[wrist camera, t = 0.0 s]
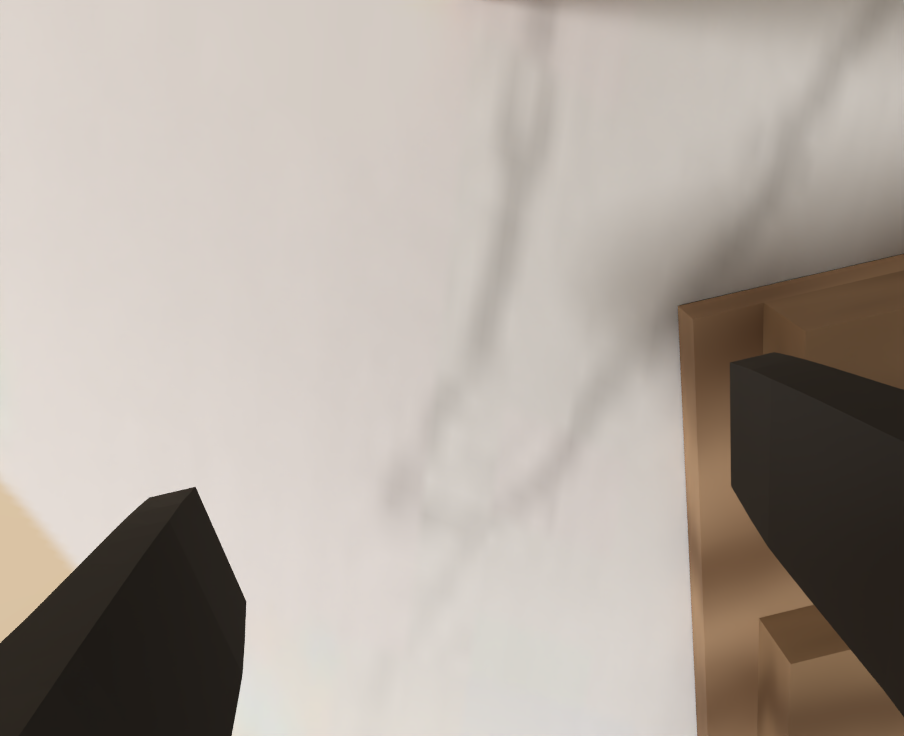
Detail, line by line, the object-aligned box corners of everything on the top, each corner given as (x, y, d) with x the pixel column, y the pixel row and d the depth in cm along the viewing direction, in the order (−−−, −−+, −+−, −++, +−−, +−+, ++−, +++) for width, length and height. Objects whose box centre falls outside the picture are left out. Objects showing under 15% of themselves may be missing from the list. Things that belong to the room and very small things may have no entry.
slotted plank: (974, 678, 29) (1036, 743, 27) (697, 747, 29) (733, 820, 26) (1076, 214, 20) (1186, 242, 18) (677, 305, 20) (728, 348, 17)
